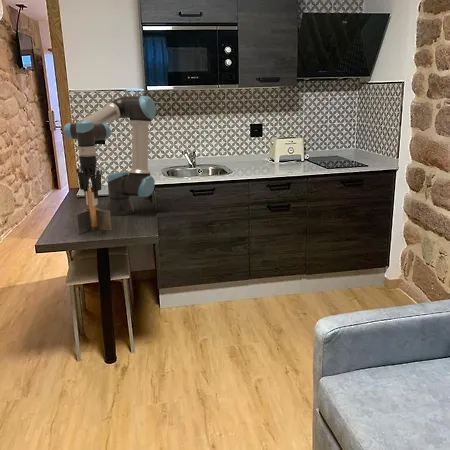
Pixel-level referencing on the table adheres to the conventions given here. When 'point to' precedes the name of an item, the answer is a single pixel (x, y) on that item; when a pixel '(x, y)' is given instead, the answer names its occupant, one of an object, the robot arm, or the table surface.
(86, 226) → the hinge
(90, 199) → the hinge pin
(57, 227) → the table surface
